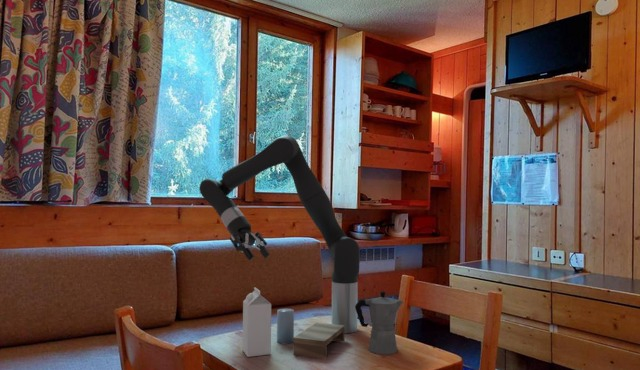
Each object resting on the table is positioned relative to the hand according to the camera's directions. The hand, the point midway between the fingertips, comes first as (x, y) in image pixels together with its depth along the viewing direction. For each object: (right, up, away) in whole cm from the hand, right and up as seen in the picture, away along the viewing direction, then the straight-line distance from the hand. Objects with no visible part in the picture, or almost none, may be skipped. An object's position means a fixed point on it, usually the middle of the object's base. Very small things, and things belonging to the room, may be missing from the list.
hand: (260, 257), depth 157 cm
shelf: (+21, -26, -13) cm, 36 cm away
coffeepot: (+39, -26, -16) cm, 49 cm away
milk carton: (+1, -26, -18) cm, 32 cm away
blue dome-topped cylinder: (+9, -26, -7) cm, 29 cm away
